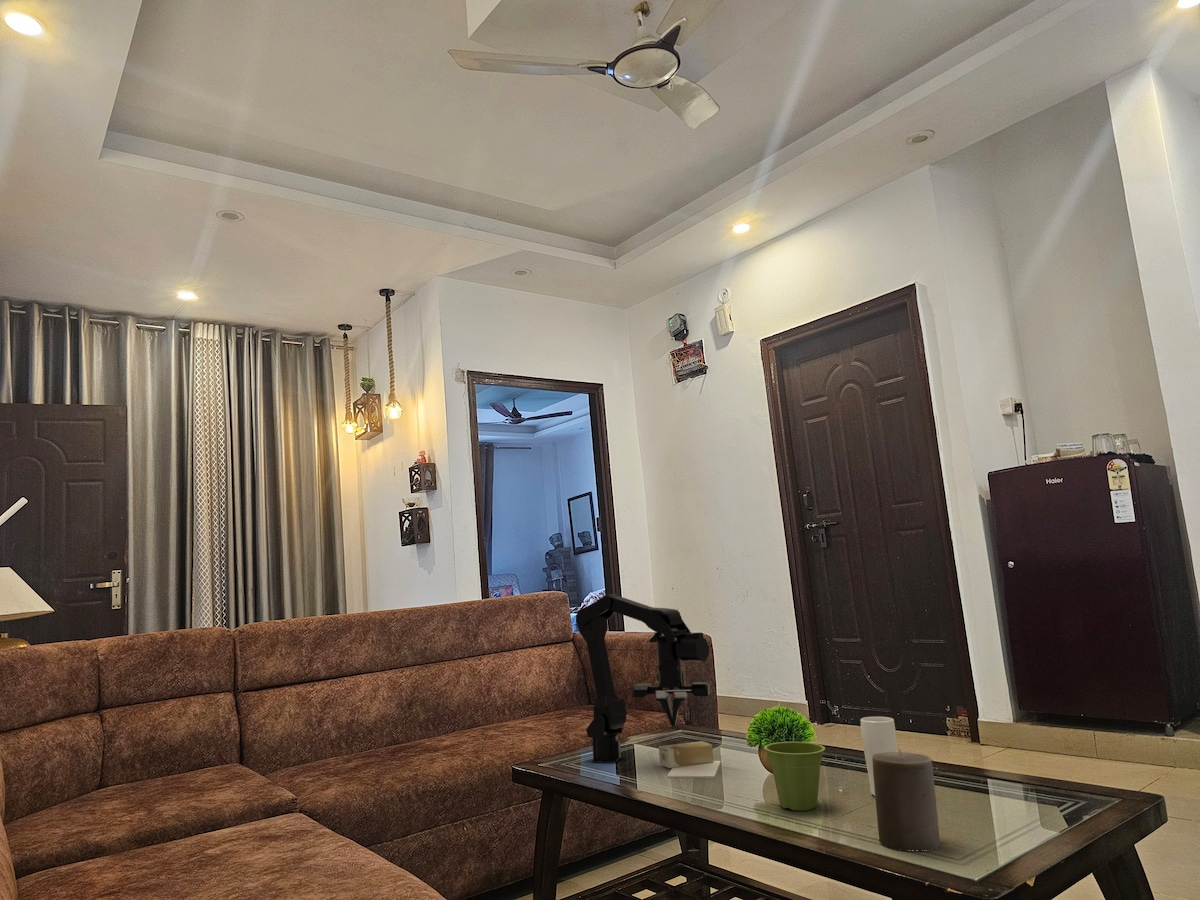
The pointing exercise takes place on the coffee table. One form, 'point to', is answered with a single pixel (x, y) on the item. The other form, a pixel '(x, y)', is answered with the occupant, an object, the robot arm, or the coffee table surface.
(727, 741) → the coffee table surface
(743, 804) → the coffee table surface
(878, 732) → the drinking glass
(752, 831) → the coffee table surface
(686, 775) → the mat
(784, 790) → the plant pot
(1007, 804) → the coffee table surface
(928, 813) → the pillar candle
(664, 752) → the skincare box
